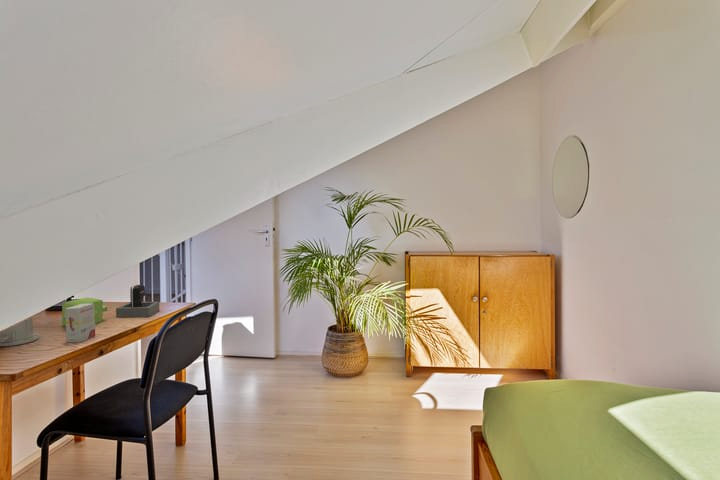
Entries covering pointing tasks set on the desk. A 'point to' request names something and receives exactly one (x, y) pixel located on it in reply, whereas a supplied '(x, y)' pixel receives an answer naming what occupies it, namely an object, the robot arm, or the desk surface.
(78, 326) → the ink box
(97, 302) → the lime green rounded box
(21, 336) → the robot arm
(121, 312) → the tray
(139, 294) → the battery
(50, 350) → the desk surface
